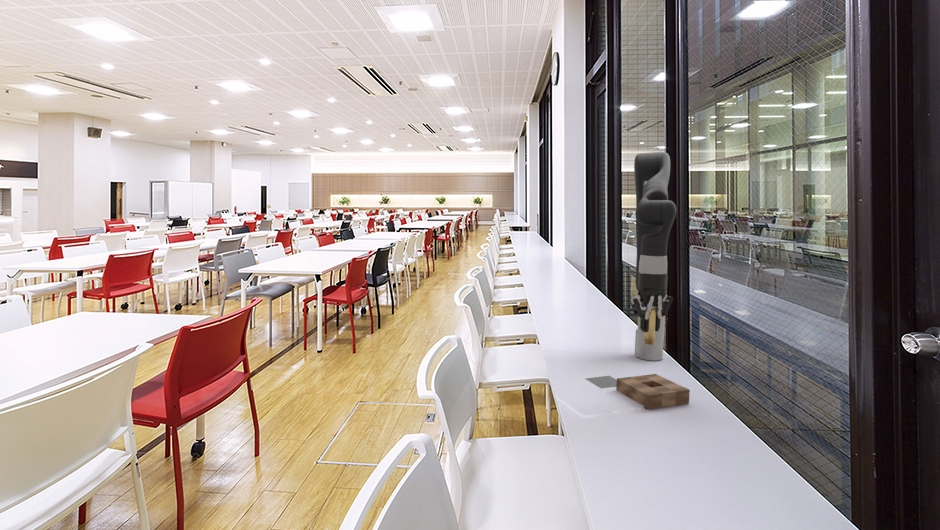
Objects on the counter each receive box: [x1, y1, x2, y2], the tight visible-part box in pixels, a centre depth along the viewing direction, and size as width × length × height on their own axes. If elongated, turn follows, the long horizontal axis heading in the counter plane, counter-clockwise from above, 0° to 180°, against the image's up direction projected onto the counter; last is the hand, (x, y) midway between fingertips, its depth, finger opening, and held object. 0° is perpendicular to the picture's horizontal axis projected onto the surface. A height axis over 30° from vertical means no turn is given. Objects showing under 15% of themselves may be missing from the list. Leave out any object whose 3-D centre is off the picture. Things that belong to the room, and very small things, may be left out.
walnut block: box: [615, 373, 690, 411], centre depth 141 cm, size 14×14×4 cm
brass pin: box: [644, 308, 656, 345], centre depth 139 cm, size 3×3×10 cm
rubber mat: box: [584, 375, 617, 389], centre depth 152 cm, size 9×9×1 cm
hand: (649, 330), depth 139 cm, fingers closed on brass pin, 3 cm apart
